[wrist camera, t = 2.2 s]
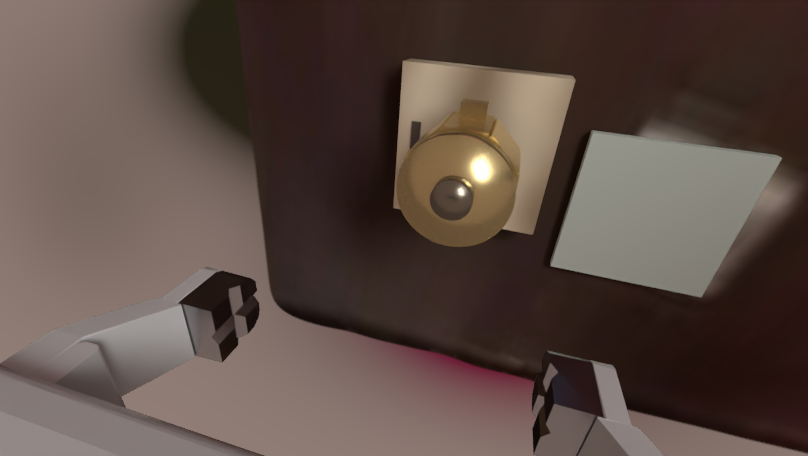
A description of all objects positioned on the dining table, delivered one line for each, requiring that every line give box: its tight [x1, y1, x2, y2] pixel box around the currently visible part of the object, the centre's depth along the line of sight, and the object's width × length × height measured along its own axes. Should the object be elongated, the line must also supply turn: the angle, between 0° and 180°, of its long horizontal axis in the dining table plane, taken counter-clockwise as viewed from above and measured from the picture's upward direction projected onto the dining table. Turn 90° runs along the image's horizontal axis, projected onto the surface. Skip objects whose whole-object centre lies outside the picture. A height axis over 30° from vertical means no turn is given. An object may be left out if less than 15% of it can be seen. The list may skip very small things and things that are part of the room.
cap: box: [396, 99, 521, 247], centre depth 20 cm, size 6×7×6 cm
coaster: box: [550, 130, 782, 297], centre depth 25 cm, size 10×10×1 cm
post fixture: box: [393, 59, 575, 235], centre depth 23 cm, size 10×10×8 cm
